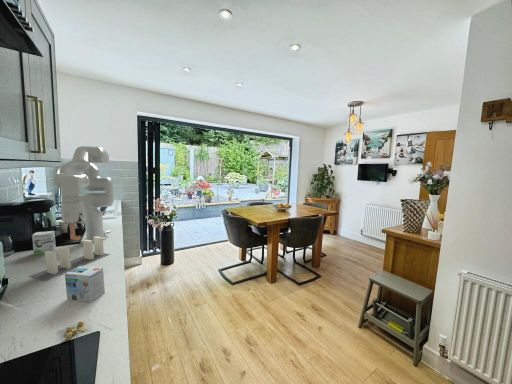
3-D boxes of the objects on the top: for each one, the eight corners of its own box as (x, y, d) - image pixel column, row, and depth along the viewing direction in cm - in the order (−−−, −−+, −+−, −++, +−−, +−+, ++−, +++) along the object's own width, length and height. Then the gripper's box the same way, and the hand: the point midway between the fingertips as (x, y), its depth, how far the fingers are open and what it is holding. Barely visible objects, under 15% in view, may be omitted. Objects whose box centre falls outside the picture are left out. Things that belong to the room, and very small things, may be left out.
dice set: (66, 343, 63) (65, 337, 63) (63, 333, 67) (62, 328, 66) (87, 333, 67) (87, 327, 67) (84, 325, 70) (83, 319, 70)
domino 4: (97, 253, 124) (96, 236, 122) (103, 254, 122) (102, 237, 121) (94, 254, 122) (93, 237, 121) (101, 255, 121) (99, 238, 119)
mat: (95, 252, 126) (95, 251, 126) (110, 255, 122) (110, 254, 122) (28, 277, 98) (28, 276, 98) (45, 282, 94) (45, 281, 94)
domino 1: (51, 270, 103) (48, 250, 102) (58, 272, 101) (56, 252, 100) (47, 272, 101) (44, 252, 100) (54, 274, 100) (51, 253, 99)
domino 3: (87, 256, 118) (85, 239, 117) (94, 258, 117) (92, 240, 116) (84, 258, 117) (82, 240, 116) (90, 259, 115) (89, 241, 114)
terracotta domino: (74, 238, 111) (72, 219, 110) (80, 239, 110) (79, 220, 109) (70, 239, 110) (68, 219, 109) (77, 240, 108) (75, 220, 107)
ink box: (33, 255, 120) (30, 235, 119) (36, 252, 124) (34, 232, 123) (54, 252, 124) (51, 232, 123) (56, 249, 129) (54, 230, 127)
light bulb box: (66, 300, 82) (63, 273, 81) (82, 290, 89) (80, 265, 87) (91, 303, 81) (88, 275, 79) (105, 292, 87) (103, 267, 86)
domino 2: (64, 265, 108) (62, 246, 107) (71, 267, 107) (69, 248, 105) (60, 267, 107) (58, 247, 105) (67, 268, 105) (65, 249, 104)
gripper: (51, 199, 107) (55, 235, 109) (75, 201, 101) (79, 239, 103) (69, 197, 114) (72, 231, 116) (92, 199, 108) (94, 234, 111)
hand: (75, 234), depth 110 cm, fingers closed on terracotta domino, 4 cm apart
